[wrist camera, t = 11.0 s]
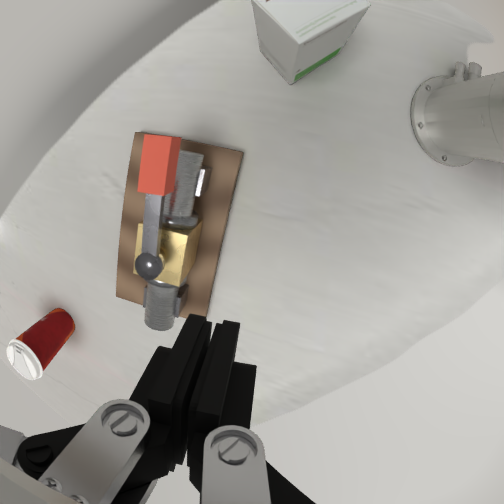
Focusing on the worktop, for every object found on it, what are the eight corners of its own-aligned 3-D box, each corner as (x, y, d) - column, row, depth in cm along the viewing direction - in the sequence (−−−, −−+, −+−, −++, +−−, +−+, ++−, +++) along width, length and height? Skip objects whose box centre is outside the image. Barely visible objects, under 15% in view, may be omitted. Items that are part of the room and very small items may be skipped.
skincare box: (289, 86, 34) (296, 50, 20) (256, 48, 33) (243, -5, 18) (341, 53, 32) (376, 6, 17) (308, 16, 31) (323, -45, 16)
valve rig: (141, 132, 37) (98, 131, 27) (243, 152, 38) (230, 155, 27) (121, 290, 46) (86, 327, 35) (206, 316, 46) (188, 362, 35)
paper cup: (47, 296, 48) (0, 335, 35) (79, 312, 48) (34, 357, 35) (49, 329, 51) (9, 369, 37) (80, 344, 51) (41, 390, 38)
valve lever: (166, 274, 32) (157, 285, 29) (142, 268, 32) (131, 279, 29) (182, 137, 27) (172, 137, 25) (155, 134, 27) (143, 134, 25)
